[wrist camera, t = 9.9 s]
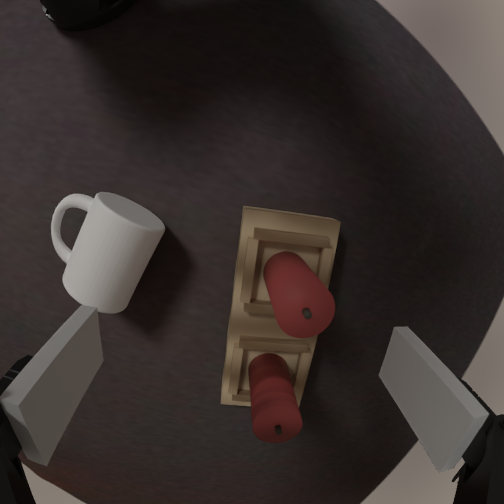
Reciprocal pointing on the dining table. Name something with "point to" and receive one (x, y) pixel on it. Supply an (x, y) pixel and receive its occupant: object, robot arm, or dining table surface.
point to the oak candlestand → (272, 320)
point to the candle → (297, 296)
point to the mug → (106, 249)
